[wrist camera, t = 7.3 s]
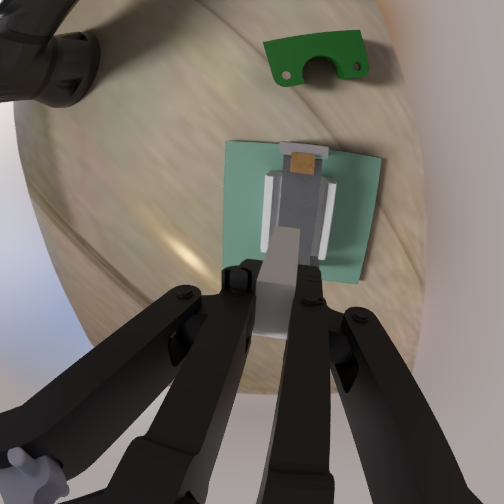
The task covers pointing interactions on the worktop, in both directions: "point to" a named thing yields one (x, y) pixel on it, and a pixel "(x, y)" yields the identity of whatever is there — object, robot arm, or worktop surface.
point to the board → (343, 215)
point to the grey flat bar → (300, 198)
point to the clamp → (317, 54)
